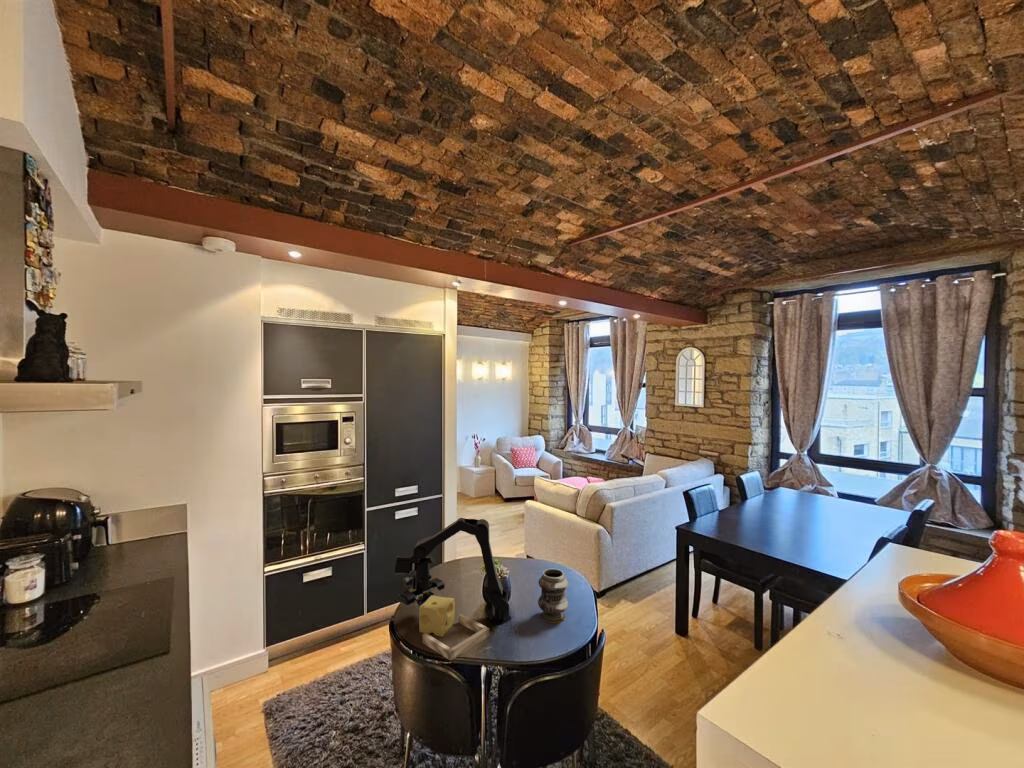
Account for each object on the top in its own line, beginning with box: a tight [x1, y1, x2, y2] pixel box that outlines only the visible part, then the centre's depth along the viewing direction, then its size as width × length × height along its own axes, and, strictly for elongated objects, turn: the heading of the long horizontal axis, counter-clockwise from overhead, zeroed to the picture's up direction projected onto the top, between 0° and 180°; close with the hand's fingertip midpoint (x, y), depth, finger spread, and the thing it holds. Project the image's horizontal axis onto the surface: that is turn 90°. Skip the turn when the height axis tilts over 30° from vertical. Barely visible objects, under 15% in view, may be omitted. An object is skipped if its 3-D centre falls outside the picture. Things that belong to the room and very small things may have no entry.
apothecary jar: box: [537, 567, 569, 624], centre depth 176 cm, size 12×12×18 cm
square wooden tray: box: [422, 613, 490, 661], centre depth 161 cm, size 16×19×3 cm
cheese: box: [418, 595, 456, 638], centre depth 168 cm, size 10×11×10 cm
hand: (422, 611), depth 174 cm, fingers closed
